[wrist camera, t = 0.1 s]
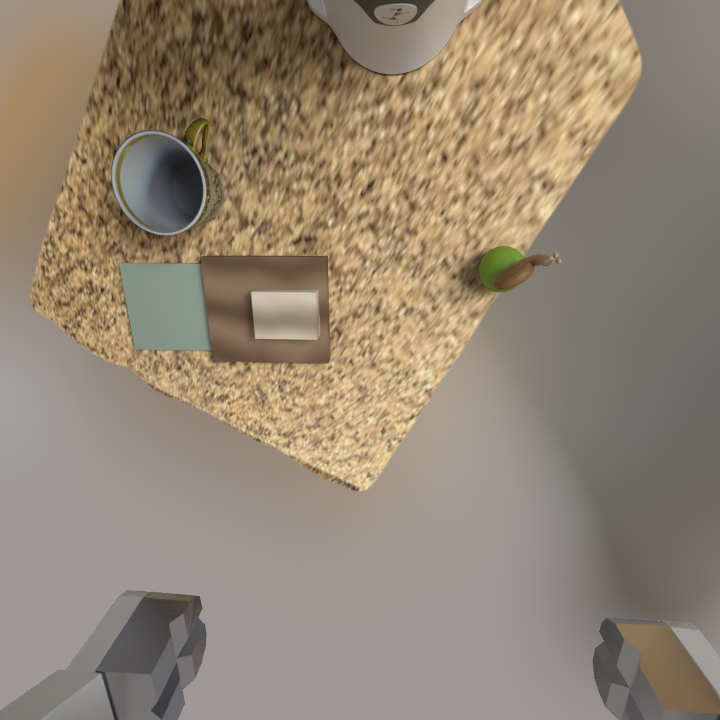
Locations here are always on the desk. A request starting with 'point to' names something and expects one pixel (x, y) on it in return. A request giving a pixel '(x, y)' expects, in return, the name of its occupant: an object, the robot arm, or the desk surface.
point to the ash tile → (286, 313)
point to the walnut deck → (235, 313)
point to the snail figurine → (510, 267)
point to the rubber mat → (166, 306)
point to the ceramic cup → (167, 180)
